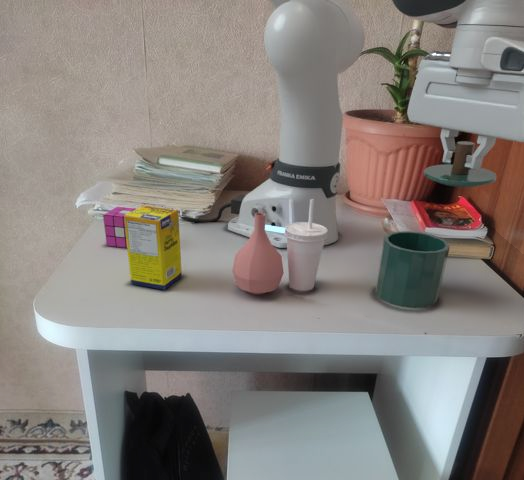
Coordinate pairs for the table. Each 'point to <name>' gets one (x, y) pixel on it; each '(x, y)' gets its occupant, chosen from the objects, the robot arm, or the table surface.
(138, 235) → the supplement box
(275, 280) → the pink vase
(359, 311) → the table surface
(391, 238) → the crock
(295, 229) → the smoothie
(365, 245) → the table surface
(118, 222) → the puzzle toy
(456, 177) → the lid
